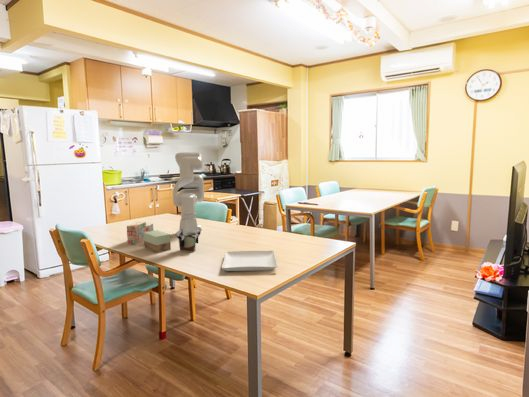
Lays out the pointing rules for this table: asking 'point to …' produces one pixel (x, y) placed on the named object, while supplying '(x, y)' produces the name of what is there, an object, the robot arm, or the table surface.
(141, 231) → the stack of blocks
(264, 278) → the table surface
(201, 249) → the table surface
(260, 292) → the table surface
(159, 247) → the tower base slab
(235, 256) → the square plate
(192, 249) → the food container
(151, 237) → the tower top slab
